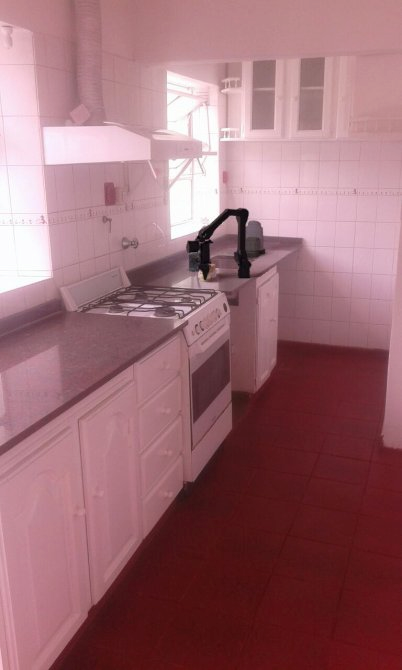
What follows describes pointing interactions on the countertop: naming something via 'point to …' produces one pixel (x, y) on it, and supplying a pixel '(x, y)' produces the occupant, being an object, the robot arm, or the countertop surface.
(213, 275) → the tower base
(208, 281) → the maple puck
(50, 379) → the countertop surface
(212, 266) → the tower top
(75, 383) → the countertop surface
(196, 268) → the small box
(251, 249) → the juicer
